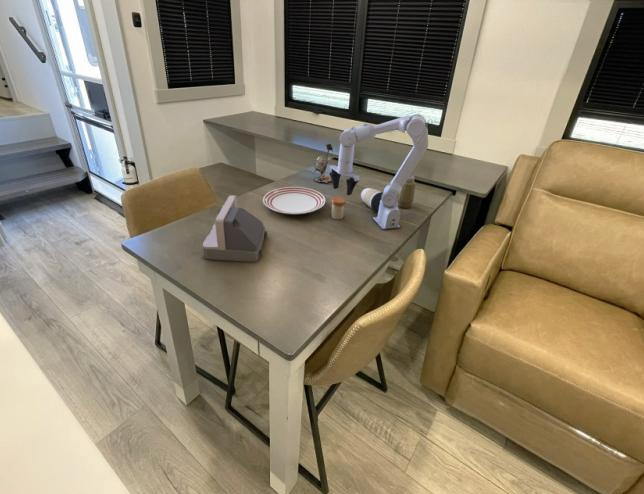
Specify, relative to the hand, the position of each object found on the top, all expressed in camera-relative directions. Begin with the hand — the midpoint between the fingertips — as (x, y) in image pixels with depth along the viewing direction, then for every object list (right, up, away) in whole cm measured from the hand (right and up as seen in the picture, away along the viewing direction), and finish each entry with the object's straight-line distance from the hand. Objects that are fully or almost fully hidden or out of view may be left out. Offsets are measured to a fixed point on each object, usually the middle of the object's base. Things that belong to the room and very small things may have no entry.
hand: (342, 191), depth 137 cm
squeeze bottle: (+30, -5, +16) cm, 34 cm away
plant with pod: (-8, +9, +37) cm, 39 cm away
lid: (-2, -4, -1) cm, 4 cm away
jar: (-2, -10, +3) cm, 11 cm away
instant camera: (-39, -21, -21) cm, 49 cm away
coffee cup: (+13, 0, +15) cm, 20 cm away
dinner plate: (-21, -5, +9) cm, 23 cm away
